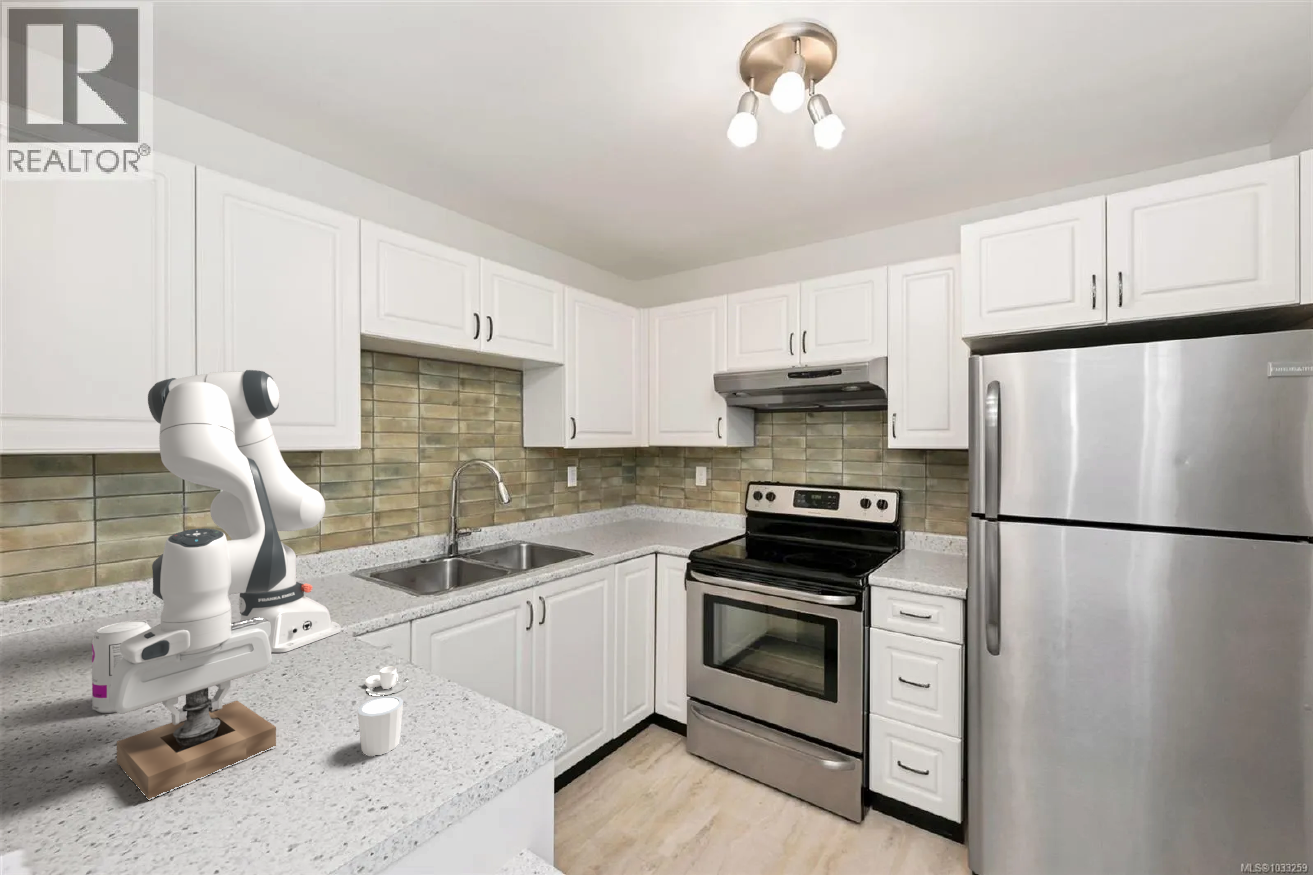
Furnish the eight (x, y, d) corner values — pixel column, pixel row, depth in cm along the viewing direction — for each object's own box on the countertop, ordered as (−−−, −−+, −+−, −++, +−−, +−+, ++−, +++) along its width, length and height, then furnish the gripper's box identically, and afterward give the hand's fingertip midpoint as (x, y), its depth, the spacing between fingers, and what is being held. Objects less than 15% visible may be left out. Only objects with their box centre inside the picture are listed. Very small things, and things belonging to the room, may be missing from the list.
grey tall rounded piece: (193, 762, 86) (193, 685, 85) (163, 757, 87) (162, 682, 87) (229, 741, 91) (229, 669, 91) (200, 737, 92) (200, 666, 92)
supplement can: (80, 717, 101) (80, 636, 101) (111, 696, 109) (111, 621, 109) (134, 711, 103) (134, 632, 103) (161, 691, 111) (160, 617, 111)
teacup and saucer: (359, 687, 114) (359, 668, 114) (399, 675, 119) (399, 657, 119) (373, 702, 107) (373, 682, 107) (414, 689, 113) (414, 669, 113)
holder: (237, 719, 100) (237, 700, 100) (276, 747, 91) (275, 726, 91) (116, 763, 87) (116, 741, 87) (148, 801, 78) (148, 777, 78)
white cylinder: (391, 730, 97) (391, 691, 97) (410, 745, 92) (410, 703, 92) (350, 748, 91) (350, 706, 91) (368, 764, 87) (368, 720, 87)
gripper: (262, 610, 99) (263, 686, 99) (105, 647, 82) (106, 738, 82) (278, 617, 96) (278, 696, 96) (117, 656, 79) (117, 752, 79)
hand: (197, 716), depth 89 cm, fingers closed on grey tall rounded piece, 3 cm apart
